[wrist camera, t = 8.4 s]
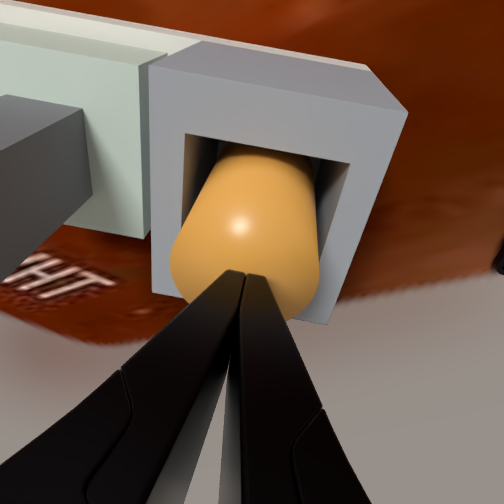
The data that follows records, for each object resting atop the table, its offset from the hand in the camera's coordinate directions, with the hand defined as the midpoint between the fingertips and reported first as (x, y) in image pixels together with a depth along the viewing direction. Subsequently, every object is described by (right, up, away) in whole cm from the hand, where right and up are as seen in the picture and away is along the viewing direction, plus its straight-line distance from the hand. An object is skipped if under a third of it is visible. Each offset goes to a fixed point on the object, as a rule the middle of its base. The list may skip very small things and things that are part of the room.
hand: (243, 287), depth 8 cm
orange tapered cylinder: (+1, +3, +5) cm, 6 cm away
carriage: (-6, +6, +7) cm, 11 cm away
